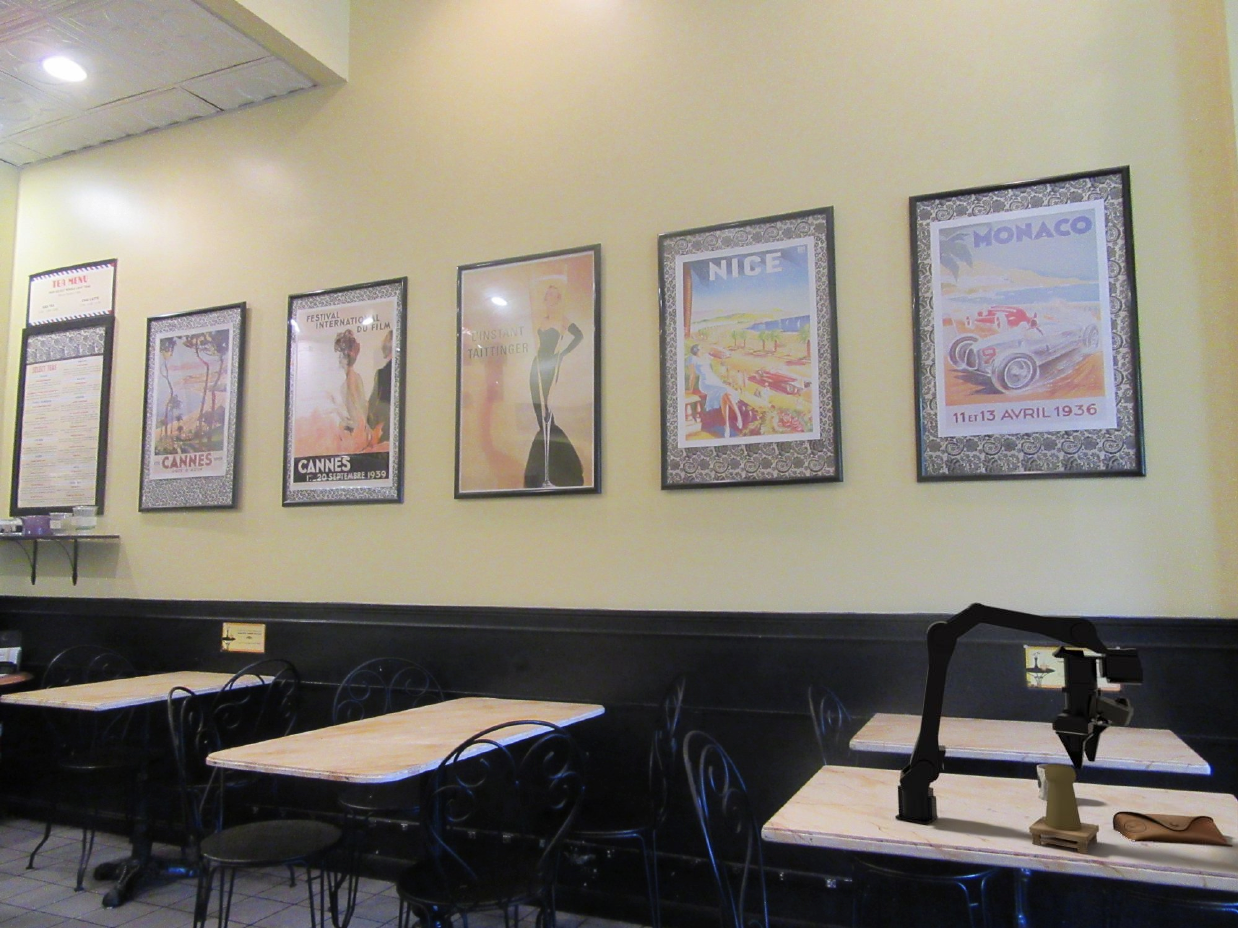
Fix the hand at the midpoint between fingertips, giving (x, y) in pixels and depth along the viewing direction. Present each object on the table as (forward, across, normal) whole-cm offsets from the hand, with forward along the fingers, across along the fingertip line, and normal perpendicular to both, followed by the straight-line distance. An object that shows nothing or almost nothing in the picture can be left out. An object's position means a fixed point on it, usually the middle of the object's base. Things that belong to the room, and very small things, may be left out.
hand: (1085, 765), depth 167 cm
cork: (+10, -9, +2) cm, 14 cm away
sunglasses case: (+13, +8, -12) cm, 20 cm away
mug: (+13, +23, +13) cm, 29 cm away
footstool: (+13, -9, +2) cm, 16 cm away
